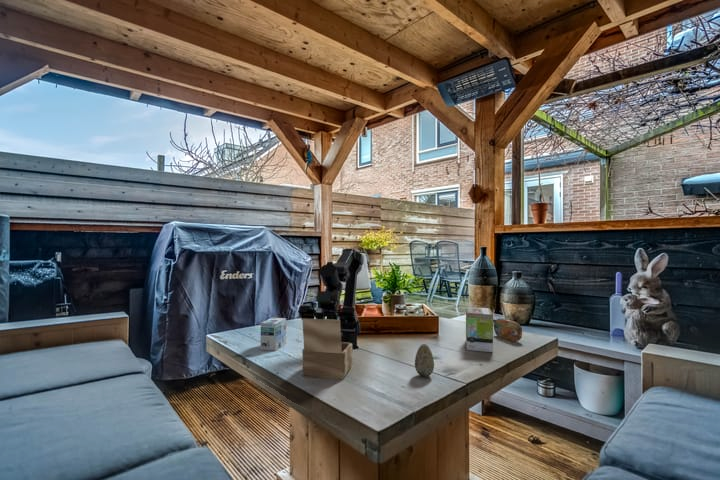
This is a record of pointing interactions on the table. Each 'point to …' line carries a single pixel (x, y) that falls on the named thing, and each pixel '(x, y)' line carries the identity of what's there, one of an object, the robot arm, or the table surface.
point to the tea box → (479, 329)
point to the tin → (508, 330)
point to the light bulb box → (273, 334)
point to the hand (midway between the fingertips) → (322, 337)
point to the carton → (328, 363)
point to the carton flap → (322, 335)
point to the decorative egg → (424, 361)
